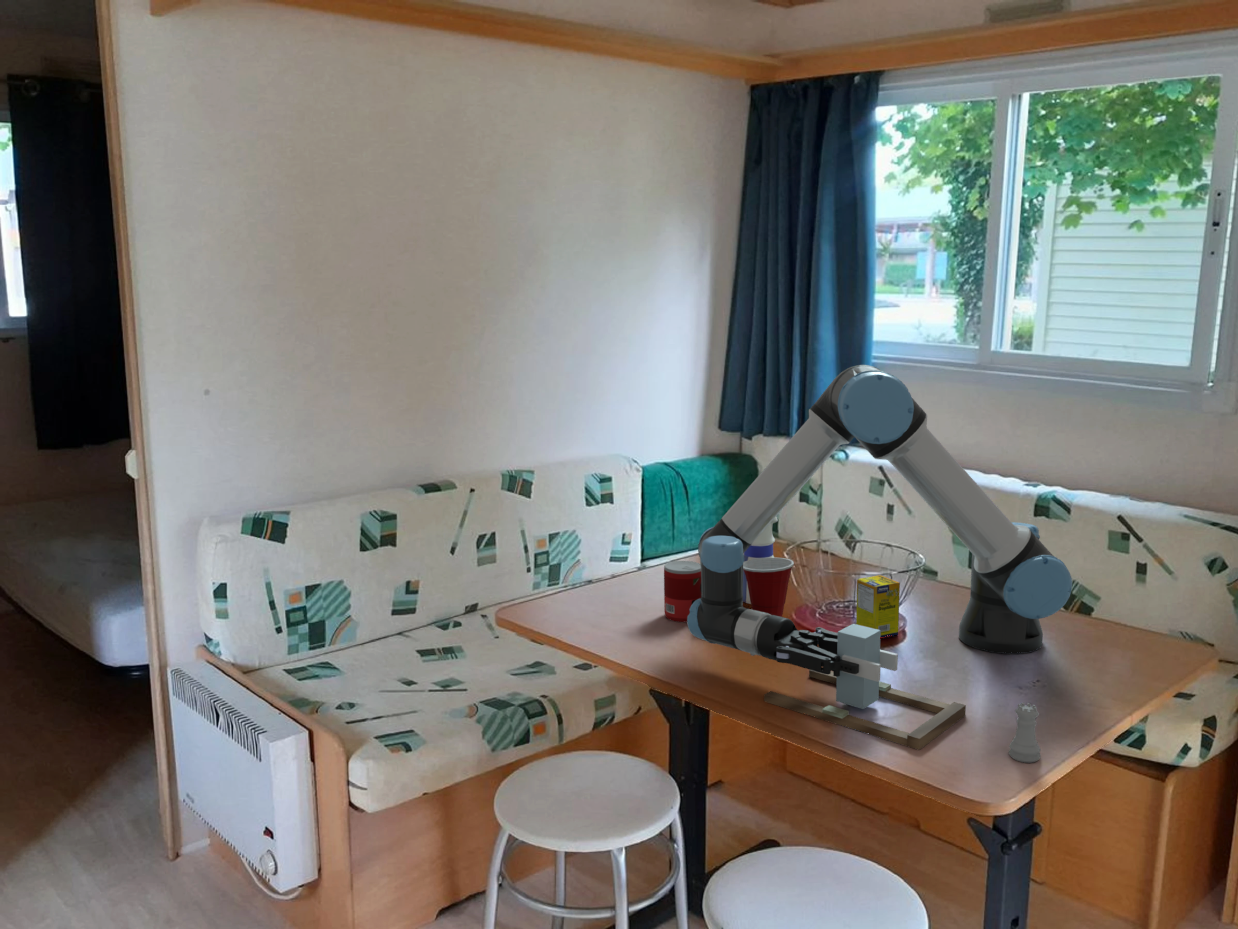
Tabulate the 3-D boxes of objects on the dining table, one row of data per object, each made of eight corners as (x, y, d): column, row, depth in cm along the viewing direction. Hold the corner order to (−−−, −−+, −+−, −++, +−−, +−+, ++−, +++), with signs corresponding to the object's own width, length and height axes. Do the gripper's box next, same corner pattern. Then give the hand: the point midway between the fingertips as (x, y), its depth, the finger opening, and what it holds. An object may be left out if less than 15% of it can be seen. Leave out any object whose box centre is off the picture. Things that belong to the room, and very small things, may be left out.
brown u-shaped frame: (764, 701, 178) (764, 691, 178) (815, 673, 190) (815, 663, 190) (919, 750, 160) (919, 739, 160) (965, 715, 172) (965, 705, 171)
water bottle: (731, 595, 234) (731, 484, 230) (766, 591, 237) (767, 481, 232) (746, 606, 227) (747, 492, 222) (783, 602, 229) (784, 488, 225)
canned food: (700, 623, 217) (700, 571, 215) (661, 621, 218) (661, 570, 216) (704, 611, 224) (704, 561, 222) (667, 609, 226) (667, 559, 224)
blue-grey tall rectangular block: (836, 701, 175) (837, 631, 173) (851, 691, 179) (853, 623, 177) (863, 709, 172) (865, 638, 170) (878, 699, 176) (880, 630, 173)
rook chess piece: (1033, 749, 160) (1036, 699, 158) (1045, 763, 155) (1049, 712, 154) (1003, 750, 159) (1006, 700, 158) (1015, 764, 155) (1018, 713, 154)
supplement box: (899, 636, 208) (900, 582, 206) (874, 641, 206) (876, 586, 203) (879, 626, 213) (880, 574, 211) (855, 631, 211) (856, 578, 209)
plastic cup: (758, 606, 227) (758, 551, 225) (802, 615, 220) (803, 560, 218) (730, 619, 219) (730, 563, 217) (775, 630, 212) (776, 572, 210)
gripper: (794, 641, 193) (913, 673, 178) (736, 671, 180) (858, 707, 165) (795, 602, 192) (915, 630, 177) (736, 628, 179) (860, 661, 163)
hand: (887, 667), depth 171 cm, fingers closed on blue-grey tall rectangular block, 5 cm apart
